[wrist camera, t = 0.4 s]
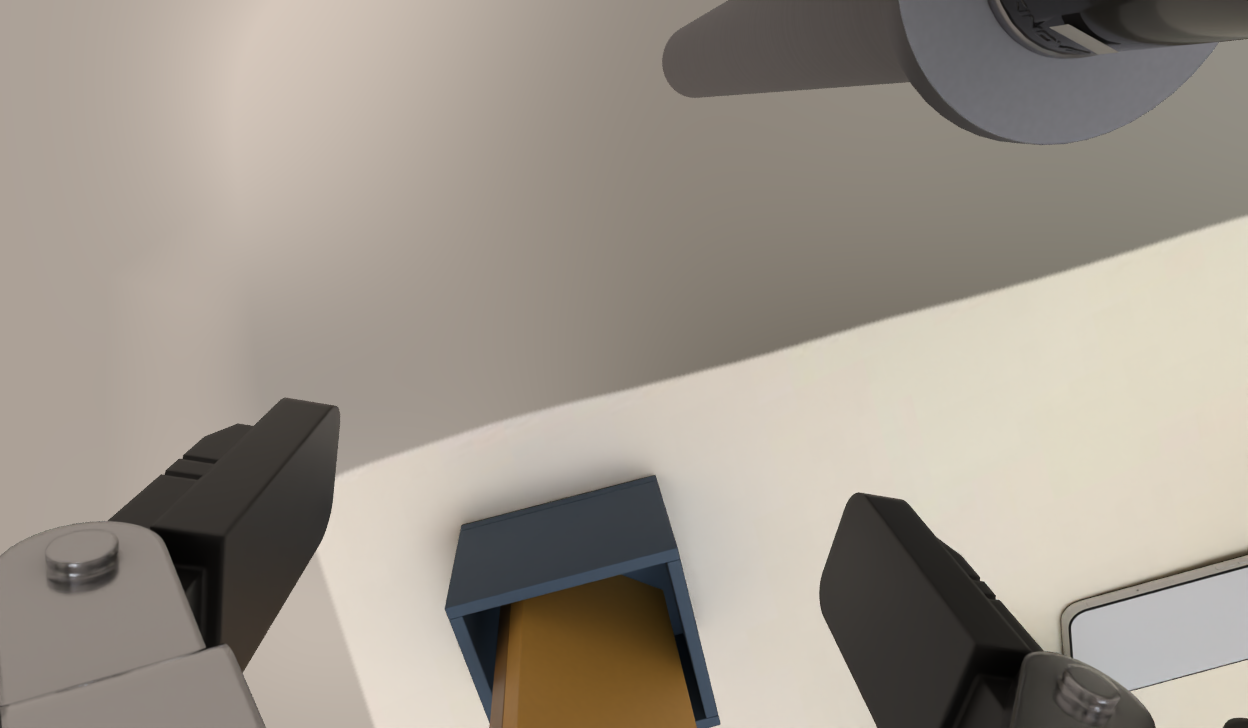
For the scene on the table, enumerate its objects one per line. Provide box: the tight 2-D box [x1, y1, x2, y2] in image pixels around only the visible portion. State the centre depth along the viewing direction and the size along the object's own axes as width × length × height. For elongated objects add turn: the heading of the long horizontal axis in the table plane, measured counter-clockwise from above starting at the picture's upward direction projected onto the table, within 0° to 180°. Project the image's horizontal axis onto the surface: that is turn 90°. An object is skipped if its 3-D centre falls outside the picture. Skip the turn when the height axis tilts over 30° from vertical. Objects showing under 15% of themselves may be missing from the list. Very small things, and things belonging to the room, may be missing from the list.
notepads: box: [489, 575, 697, 728], centre depth 33 cm, size 3×8×12 cm, turn 63°
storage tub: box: [445, 475, 720, 728], centre depth 36 cm, size 10×10×7 cm
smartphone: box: [1061, 555, 1248, 691], centre depth 44 cm, size 7×1×15 cm
